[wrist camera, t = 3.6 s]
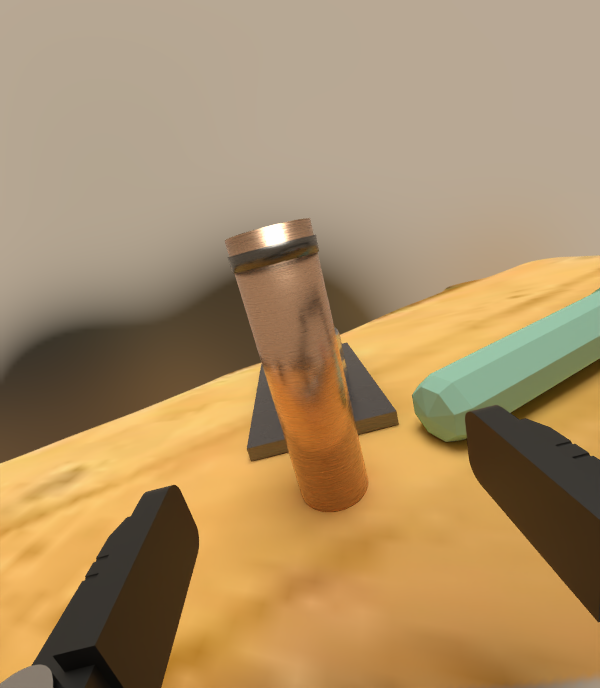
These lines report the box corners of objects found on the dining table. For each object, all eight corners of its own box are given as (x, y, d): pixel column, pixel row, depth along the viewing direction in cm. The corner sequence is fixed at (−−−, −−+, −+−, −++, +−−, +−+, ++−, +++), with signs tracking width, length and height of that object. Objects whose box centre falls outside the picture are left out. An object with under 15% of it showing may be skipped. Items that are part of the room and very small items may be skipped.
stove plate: (348, 350, 43) (339, 308, 41) (398, 424, 25) (386, 354, 23) (263, 372, 43) (251, 331, 41) (251, 461, 25) (228, 394, 23)
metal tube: (359, 453, 23) (308, 222, 18) (378, 502, 18) (316, 213, 13) (298, 468, 23) (230, 242, 18) (302, 521, 18) (214, 240, 14)
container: (438, 372, 19) (661, 262, 26) (386, 380, 24) (582, 286, 32) (480, 466, 18) (694, 326, 26) (418, 451, 24) (609, 340, 31)
